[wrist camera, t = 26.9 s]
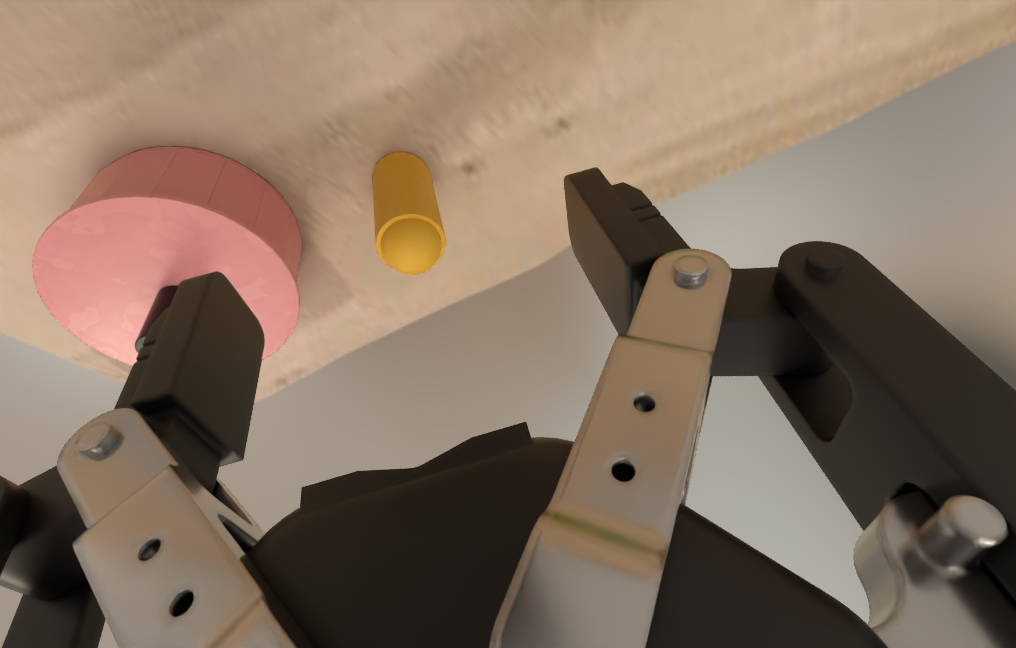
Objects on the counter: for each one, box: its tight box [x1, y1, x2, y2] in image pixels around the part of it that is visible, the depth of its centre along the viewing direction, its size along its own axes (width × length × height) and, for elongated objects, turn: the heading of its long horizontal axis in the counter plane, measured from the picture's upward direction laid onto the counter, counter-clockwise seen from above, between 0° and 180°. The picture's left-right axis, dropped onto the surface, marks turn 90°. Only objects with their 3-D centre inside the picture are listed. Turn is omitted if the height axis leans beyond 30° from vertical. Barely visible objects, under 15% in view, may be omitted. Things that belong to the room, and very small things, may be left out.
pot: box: [70, 146, 302, 282], centre depth 37 cm, size 14×14×8 cm
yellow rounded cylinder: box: [372, 152, 446, 275], centre depth 36 cm, size 5×5×11 cm
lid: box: [32, 193, 300, 365], centre depth 32 cm, size 15×15×6 cm
